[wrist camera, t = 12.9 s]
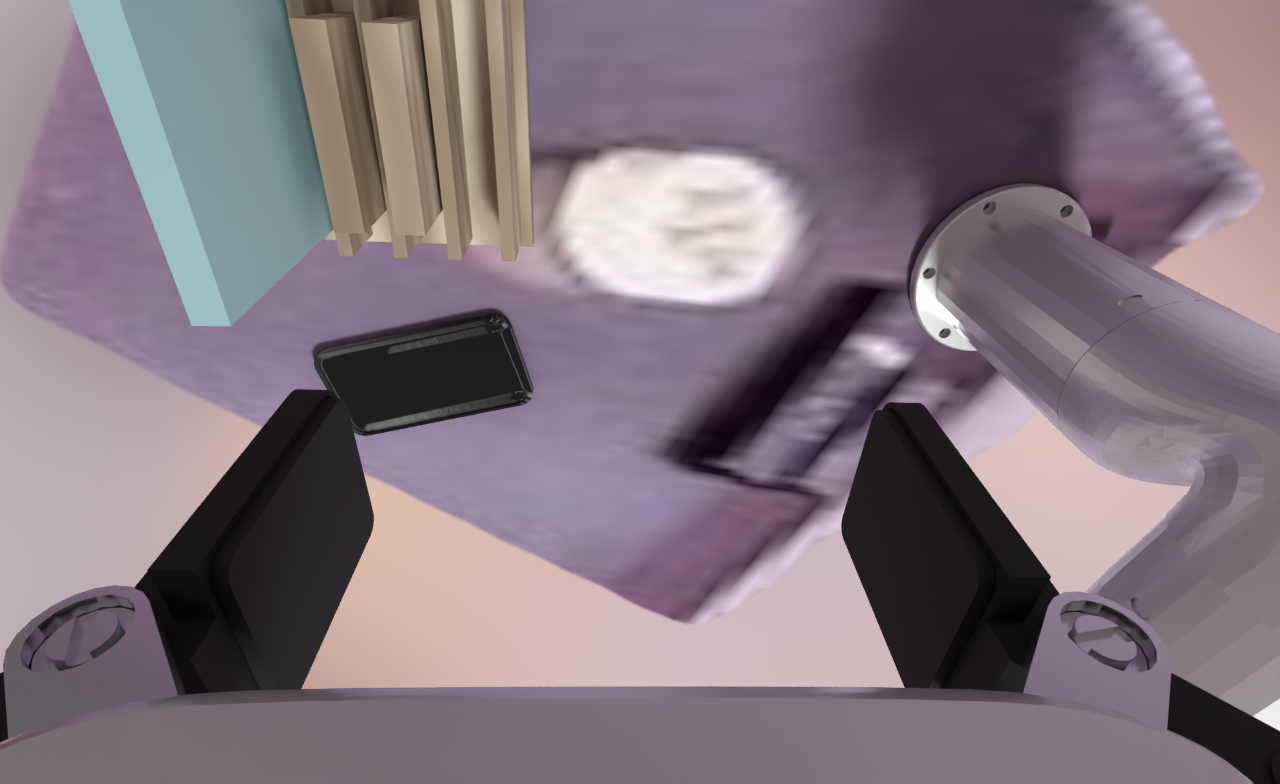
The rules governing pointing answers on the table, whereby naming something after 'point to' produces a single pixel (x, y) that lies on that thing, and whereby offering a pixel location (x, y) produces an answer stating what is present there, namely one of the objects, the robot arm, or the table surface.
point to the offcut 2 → (404, 120)
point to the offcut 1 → (340, 118)
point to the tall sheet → (213, 140)
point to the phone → (427, 374)
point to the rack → (461, 121)
